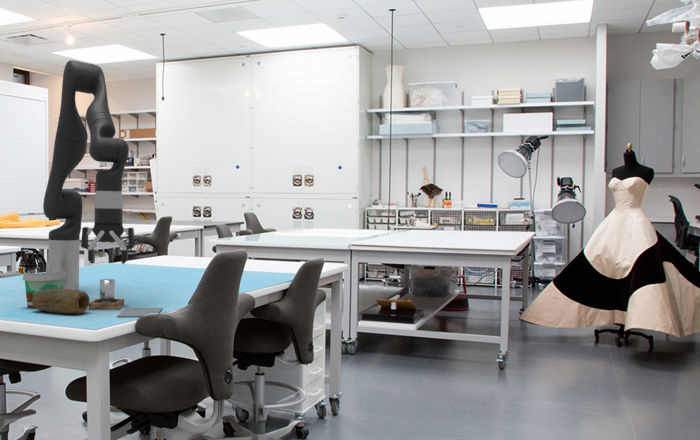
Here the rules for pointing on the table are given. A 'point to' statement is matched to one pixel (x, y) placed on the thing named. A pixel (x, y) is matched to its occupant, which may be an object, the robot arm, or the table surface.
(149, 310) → the mat
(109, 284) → the steel pin
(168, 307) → the table surface
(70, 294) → the brown wooden cylinder
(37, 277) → the food container
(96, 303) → the socket
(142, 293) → the table surface
